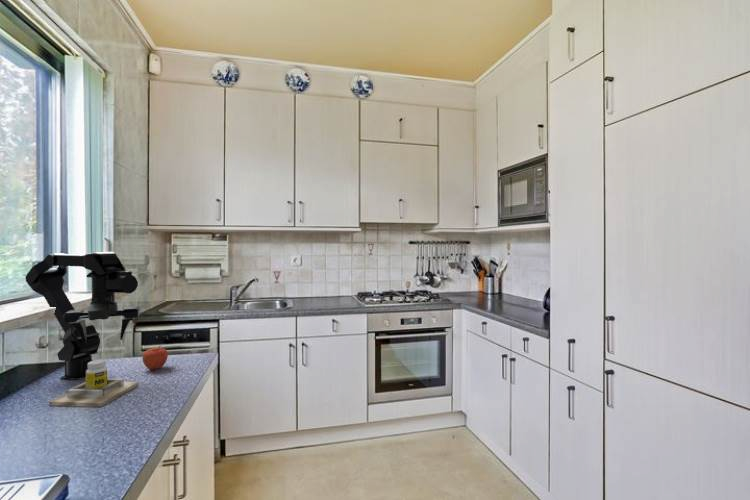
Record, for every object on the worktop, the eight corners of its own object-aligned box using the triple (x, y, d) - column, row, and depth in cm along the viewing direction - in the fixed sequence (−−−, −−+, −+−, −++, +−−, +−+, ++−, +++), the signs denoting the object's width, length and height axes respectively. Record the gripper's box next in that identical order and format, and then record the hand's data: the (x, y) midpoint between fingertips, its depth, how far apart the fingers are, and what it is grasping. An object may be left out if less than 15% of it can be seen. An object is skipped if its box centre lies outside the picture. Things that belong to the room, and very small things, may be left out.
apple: (148, 365, 125) (148, 343, 124) (171, 364, 126) (171, 342, 126) (138, 373, 117) (138, 349, 117) (162, 372, 119) (162, 348, 118)
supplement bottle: (95, 395, 98) (95, 365, 98) (81, 393, 99) (81, 364, 99) (111, 388, 103) (111, 359, 102) (97, 387, 103) (97, 358, 103)
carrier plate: (49, 405, 94) (49, 394, 94) (93, 384, 108) (93, 374, 108) (100, 406, 93) (100, 395, 93) (138, 385, 107) (138, 375, 107)
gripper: (56, 297, 100) (56, 352, 100) (135, 293, 109) (135, 344, 109) (68, 292, 110) (68, 342, 110) (140, 289, 118) (140, 335, 119)
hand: (103, 341), depth 112 cm, fingers open, 9 cm apart
